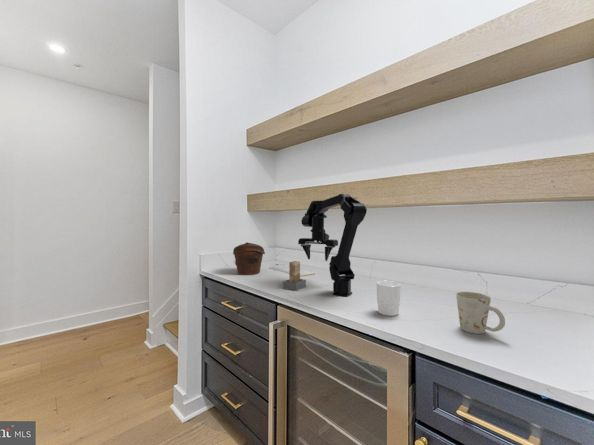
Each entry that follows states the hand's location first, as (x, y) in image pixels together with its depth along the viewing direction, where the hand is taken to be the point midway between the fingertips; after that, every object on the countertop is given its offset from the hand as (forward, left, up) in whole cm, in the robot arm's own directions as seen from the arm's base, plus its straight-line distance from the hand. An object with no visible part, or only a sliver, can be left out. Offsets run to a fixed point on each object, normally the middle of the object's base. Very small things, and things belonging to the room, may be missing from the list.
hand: (317, 260), depth 132 cm
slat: (+7, +10, -11) cm, 16 cm away
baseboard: (+30, -22, -13) cm, 39 cm away
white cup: (-38, +21, -12) cm, 45 cm away
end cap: (+7, +9, -12) cm, 17 cm away
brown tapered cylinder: (+48, -5, -12) cm, 50 cm away
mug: (-64, +24, -12) cm, 69 cm away
